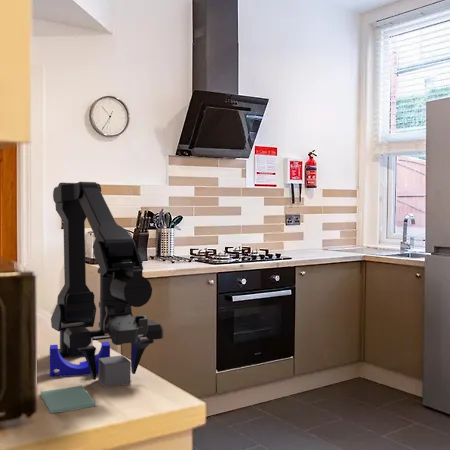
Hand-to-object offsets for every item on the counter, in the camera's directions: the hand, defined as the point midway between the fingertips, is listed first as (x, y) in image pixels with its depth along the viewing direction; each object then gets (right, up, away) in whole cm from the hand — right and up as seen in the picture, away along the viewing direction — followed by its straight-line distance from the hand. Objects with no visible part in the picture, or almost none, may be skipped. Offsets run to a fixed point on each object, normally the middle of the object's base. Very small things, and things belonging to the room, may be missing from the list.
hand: (114, 376), depth 110 cm
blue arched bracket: (-8, -1, +6) cm, 10 cm away
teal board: (-6, -2, -10) cm, 12 cm away
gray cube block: (0, -1, 0) cm, 1 cm away
